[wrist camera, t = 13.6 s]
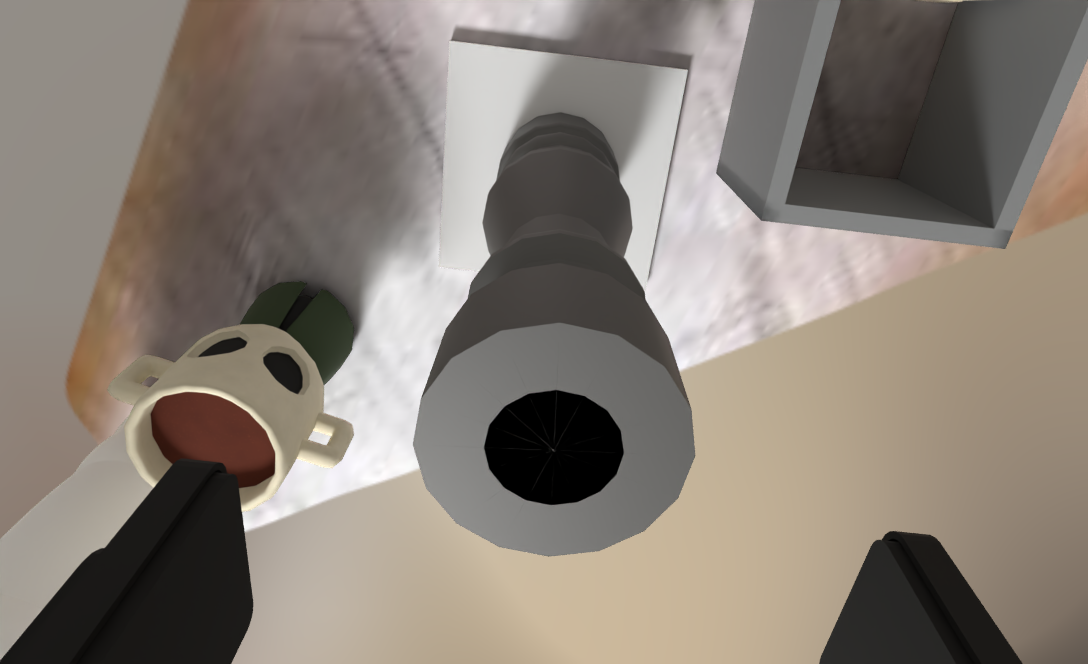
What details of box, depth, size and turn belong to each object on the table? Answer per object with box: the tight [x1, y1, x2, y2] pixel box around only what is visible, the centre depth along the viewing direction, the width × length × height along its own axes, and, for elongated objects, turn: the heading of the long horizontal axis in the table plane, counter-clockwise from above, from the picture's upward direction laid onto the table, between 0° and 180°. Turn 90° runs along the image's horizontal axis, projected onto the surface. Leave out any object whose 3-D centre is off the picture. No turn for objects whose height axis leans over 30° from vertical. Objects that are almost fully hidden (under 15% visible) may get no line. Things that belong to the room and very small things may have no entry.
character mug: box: [107, 281, 354, 512], centre depth 35 cm, size 11×7×13 cm, turn 68°
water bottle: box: [0, 416, 153, 660], centre depth 33 cm, size 7×7×25 cm
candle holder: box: [413, 112, 695, 556], centre depth 25 cm, size 6×6×25 cm
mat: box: [439, 40, 688, 290], centre depth 36 cm, size 12×12×1 cm
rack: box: [716, 0, 1088, 249], centre depth 29 cm, size 16×11×9 cm, turn 174°
